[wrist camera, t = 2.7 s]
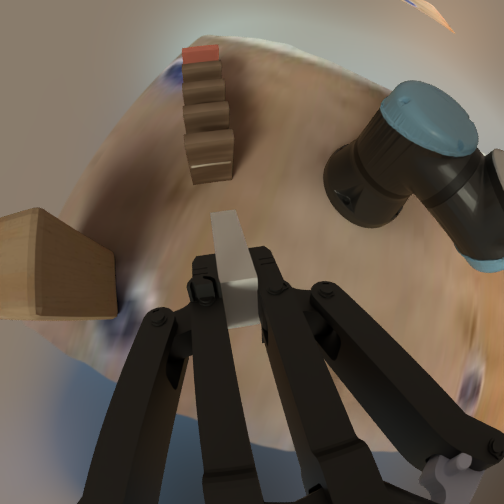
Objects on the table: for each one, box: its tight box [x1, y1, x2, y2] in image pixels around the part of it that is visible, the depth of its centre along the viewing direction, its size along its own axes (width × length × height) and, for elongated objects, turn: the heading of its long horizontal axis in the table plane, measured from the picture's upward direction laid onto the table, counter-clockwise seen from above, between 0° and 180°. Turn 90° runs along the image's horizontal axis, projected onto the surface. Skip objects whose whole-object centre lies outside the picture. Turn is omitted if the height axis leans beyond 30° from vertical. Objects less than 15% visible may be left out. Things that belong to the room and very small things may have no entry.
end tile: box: [182, 45, 219, 64], centre depth 40 cm, size 2×6×11 cm, turn 100°
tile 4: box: [182, 60, 222, 83], centre depth 39 cm, size 2×6×11 cm, turn 100°
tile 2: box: [183, 101, 229, 134], centre depth 37 cm, size 2×6×11 cm, turn 100°
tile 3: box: [182, 79, 225, 106], centre depth 38 cm, size 2×6×11 cm, turn 100°
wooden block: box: [0, 208, 118, 321], centre depth 26 cm, size 10×10×20 cm
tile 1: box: [184, 129, 234, 185], centre depth 36 cm, size 2×6×11 cm, turn 100°
